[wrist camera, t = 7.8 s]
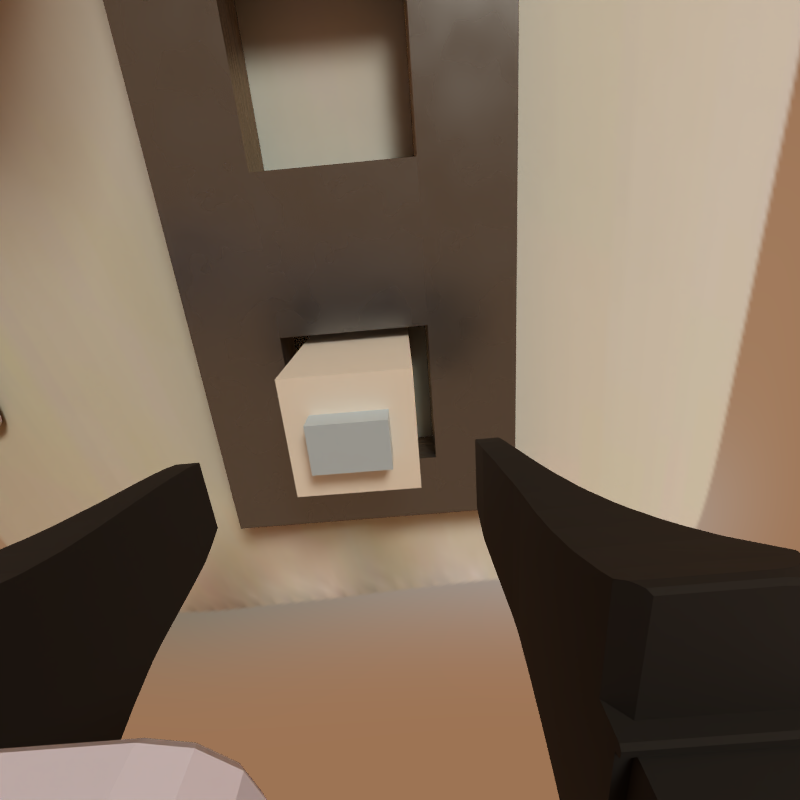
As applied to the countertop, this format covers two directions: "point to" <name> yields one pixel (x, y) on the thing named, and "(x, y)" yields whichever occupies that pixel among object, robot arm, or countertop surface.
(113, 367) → the countertop surface
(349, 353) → the plug
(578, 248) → the countertop surface
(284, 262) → the panel
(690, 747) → the robot arm
